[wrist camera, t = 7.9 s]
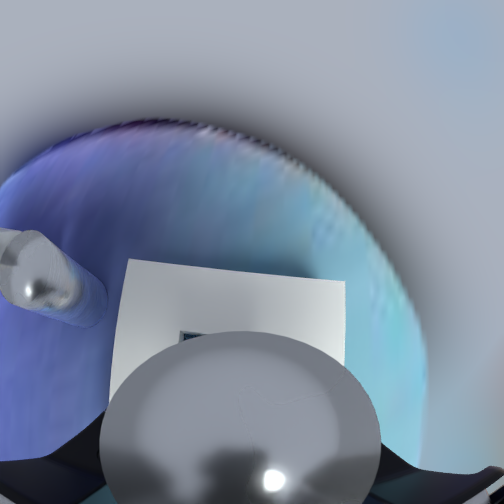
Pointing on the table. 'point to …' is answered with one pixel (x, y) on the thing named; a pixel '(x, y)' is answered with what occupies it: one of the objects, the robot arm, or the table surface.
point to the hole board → (220, 310)
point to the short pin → (50, 282)
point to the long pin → (240, 426)
